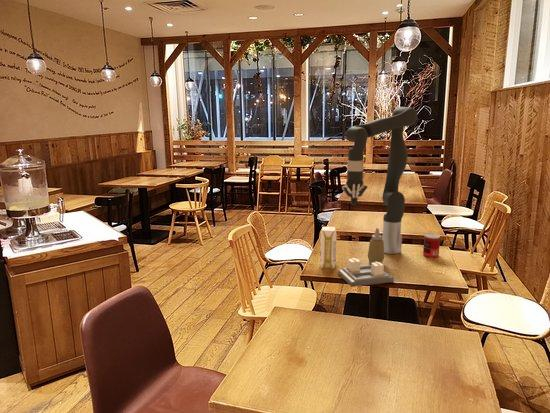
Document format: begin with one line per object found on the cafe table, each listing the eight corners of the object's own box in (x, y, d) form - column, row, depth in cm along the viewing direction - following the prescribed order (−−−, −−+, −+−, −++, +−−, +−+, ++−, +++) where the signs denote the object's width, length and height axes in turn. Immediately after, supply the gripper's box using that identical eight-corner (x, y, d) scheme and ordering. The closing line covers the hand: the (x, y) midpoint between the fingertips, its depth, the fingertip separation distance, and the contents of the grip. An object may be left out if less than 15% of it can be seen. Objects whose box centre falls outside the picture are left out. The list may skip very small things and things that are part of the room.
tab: (378, 272, 188) (379, 260, 187) (383, 275, 184) (383, 263, 183) (370, 273, 187) (371, 261, 186) (375, 276, 183) (375, 264, 182)
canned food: (440, 254, 218) (441, 234, 215) (436, 259, 211) (438, 238, 209) (424, 252, 222) (426, 232, 219) (421, 256, 215) (422, 236, 213)
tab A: (356, 268, 193) (356, 257, 191) (359, 271, 189) (360, 260, 188) (347, 269, 192) (348, 257, 191) (351, 272, 188) (352, 260, 187)
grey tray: (377, 269, 198) (377, 263, 197) (393, 281, 184) (393, 275, 183) (337, 273, 193) (338, 267, 193) (351, 286, 179) (351, 280, 178)
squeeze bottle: (364, 263, 206) (365, 228, 202) (372, 259, 211) (374, 225, 207) (378, 267, 200) (380, 231, 196) (387, 263, 206) (389, 228, 202)
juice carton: (335, 263, 207) (336, 226, 202) (335, 269, 198) (336, 231, 194) (320, 262, 208) (321, 225, 203) (319, 268, 199) (320, 230, 195)
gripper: (364, 168, 204) (362, 202, 208) (339, 169, 201) (338, 204, 205) (371, 170, 197) (369, 205, 201) (345, 171, 194) (344, 207, 197)
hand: (353, 204), depth 203 cm, fingers closed
